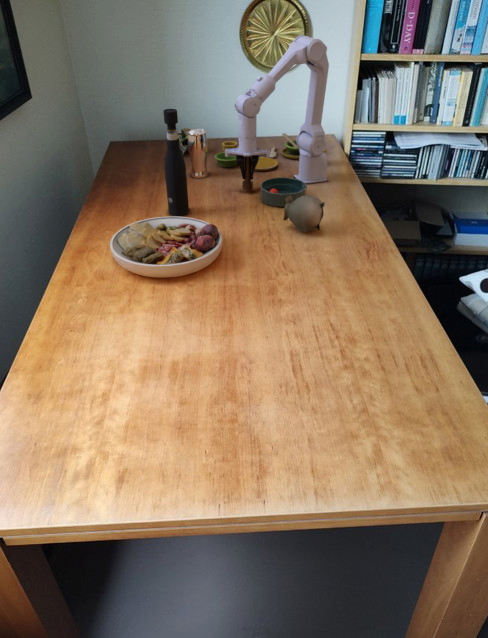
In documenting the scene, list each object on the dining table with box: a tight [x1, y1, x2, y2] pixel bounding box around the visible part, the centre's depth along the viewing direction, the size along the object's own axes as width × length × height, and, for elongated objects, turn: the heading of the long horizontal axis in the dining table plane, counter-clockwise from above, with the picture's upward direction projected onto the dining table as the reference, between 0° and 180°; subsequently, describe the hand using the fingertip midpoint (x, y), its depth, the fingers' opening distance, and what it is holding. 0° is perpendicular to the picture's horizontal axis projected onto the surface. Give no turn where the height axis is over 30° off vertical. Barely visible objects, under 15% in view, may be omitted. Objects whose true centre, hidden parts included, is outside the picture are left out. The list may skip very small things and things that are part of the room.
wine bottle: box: [163, 108, 190, 217], centre depth 164 cm, size 6×6×30 cm
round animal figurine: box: [282, 194, 326, 233], centre depth 161 cm, size 10×12×10 cm
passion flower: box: [177, 127, 193, 156], centre depth 215 cm, size 11×11×12 cm
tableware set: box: [214, 133, 327, 172], centre depth 210 cm, size 41×28×6 cm
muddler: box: [241, 156, 254, 192], centre depth 183 cm, size 4×4×11 cm
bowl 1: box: [109, 215, 223, 279], centre depth 149 cm, size 30×30×8 cm
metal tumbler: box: [187, 128, 209, 179], centre depth 195 cm, size 7×7×15 cm
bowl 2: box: [259, 176, 308, 208], centre depth 181 cm, size 15×15×4 cm
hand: (247, 178), depth 185 cm, fingers closed on muddler, 2 cm apart
